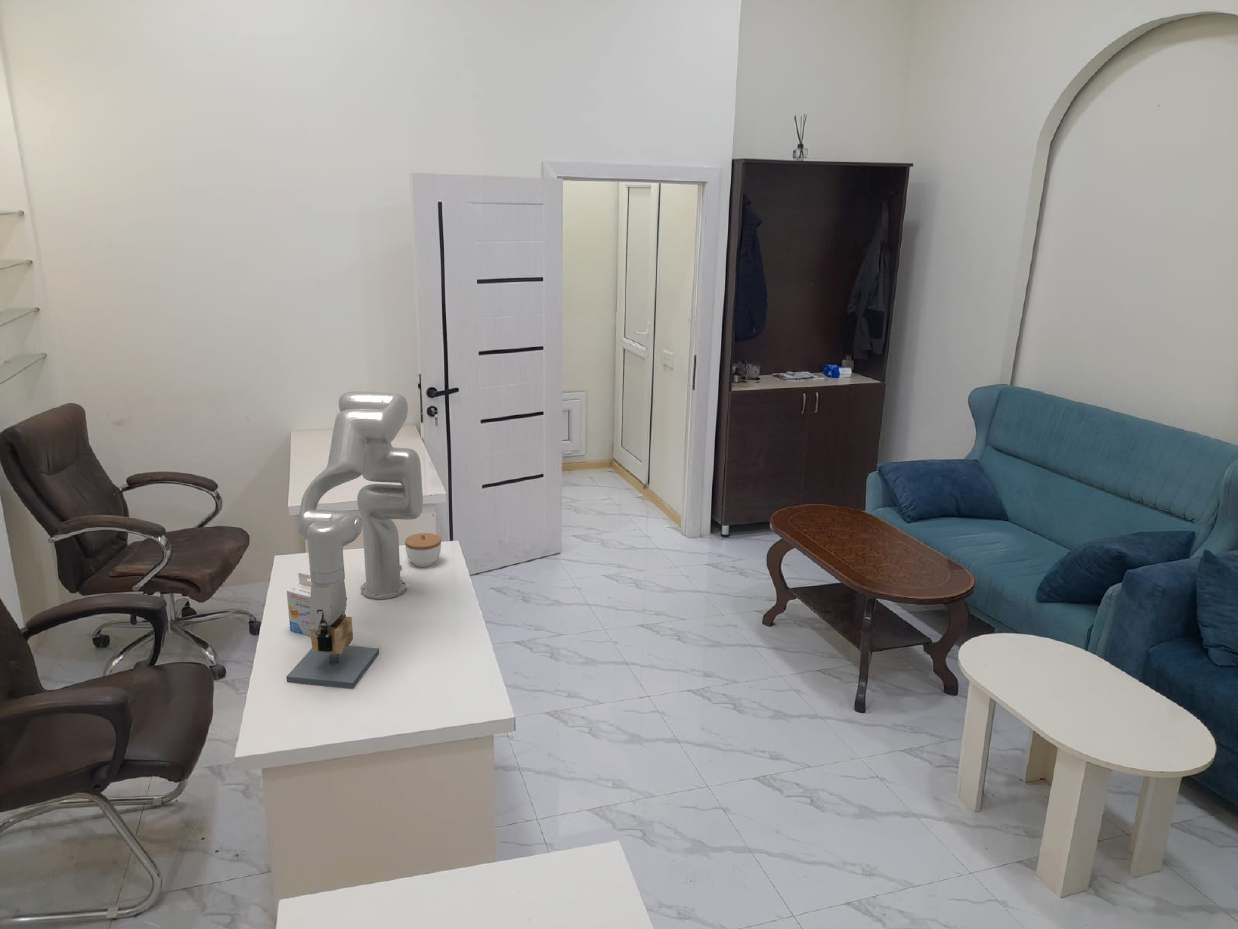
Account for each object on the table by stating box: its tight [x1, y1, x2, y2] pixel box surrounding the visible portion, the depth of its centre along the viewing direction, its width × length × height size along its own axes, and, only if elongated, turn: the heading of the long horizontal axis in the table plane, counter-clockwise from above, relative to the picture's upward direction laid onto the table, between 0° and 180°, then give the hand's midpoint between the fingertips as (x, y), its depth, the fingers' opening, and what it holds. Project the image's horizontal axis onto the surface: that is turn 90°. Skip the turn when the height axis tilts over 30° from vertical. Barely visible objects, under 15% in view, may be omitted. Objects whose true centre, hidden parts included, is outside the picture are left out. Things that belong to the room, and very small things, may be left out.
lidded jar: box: [404, 532, 442, 568], centre depth 269 cm, size 11×11×9 cm
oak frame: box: [310, 615, 354, 654], centre depth 210 cm, size 7×7×6 cm
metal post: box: [328, 653, 339, 665], centre depth 211 cm, size 2×2×8 cm
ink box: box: [286, 572, 314, 637], centre depth 227 cm, size 8×5×15 cm, turn 67°
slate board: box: [285, 644, 380, 689], centre depth 212 cm, size 16×16×2 cm
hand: (332, 642), depth 210 cm, fingers closed on oak frame, 7 cm apart
